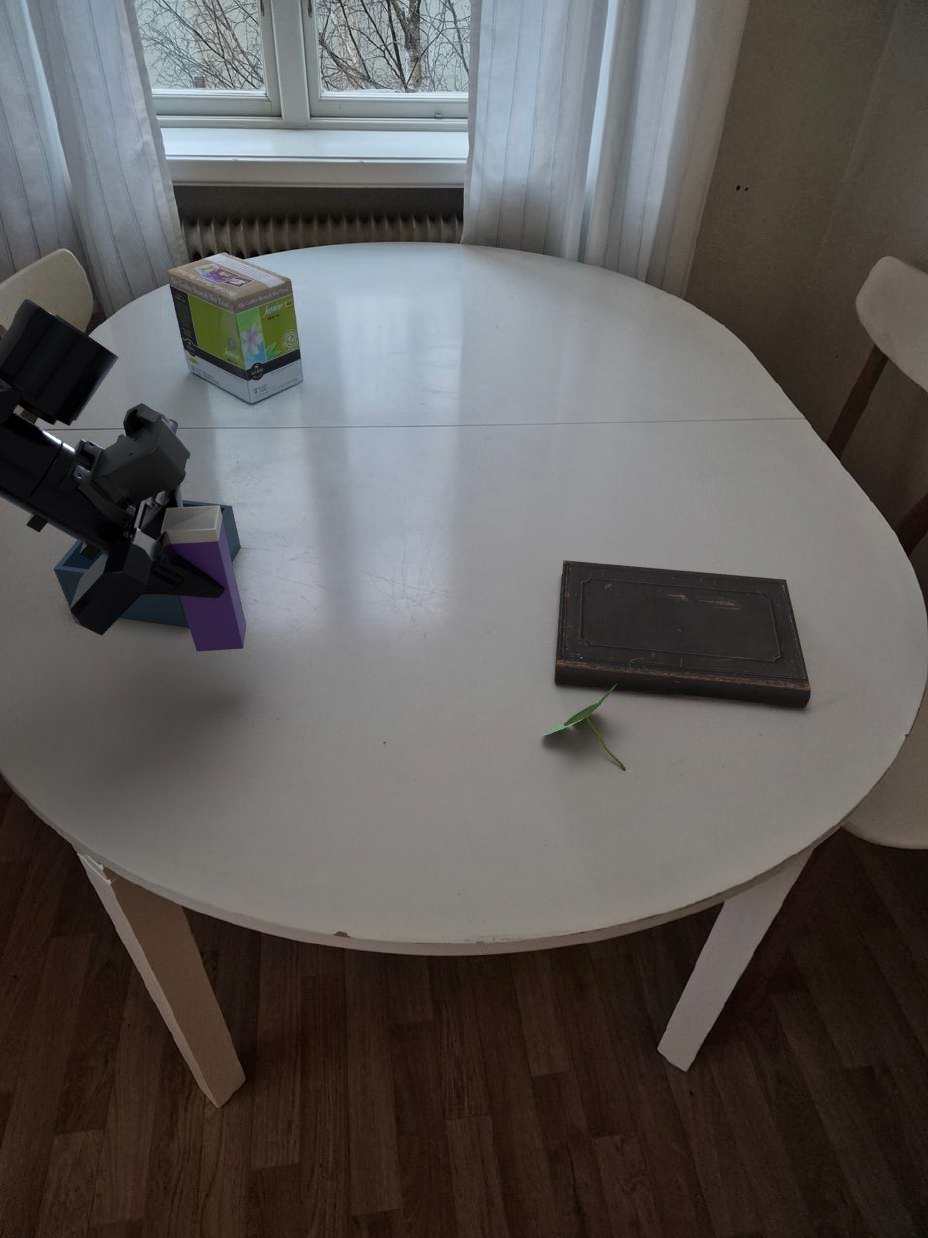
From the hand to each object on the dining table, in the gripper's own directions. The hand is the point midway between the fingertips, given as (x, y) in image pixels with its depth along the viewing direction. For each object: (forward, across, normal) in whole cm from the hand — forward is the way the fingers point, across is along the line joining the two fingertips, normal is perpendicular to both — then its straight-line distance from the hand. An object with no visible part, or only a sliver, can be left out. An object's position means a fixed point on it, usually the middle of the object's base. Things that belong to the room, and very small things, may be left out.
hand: (223, 580), depth 71 cm
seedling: (+31, -9, -11) cm, 34 cm away
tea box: (+6, +62, +14) cm, 63 cm away
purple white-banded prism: (+4, 0, +6) cm, 7 cm away
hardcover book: (+39, +3, -19) cm, 44 cm away
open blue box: (+2, +17, +17) cm, 25 cm away
